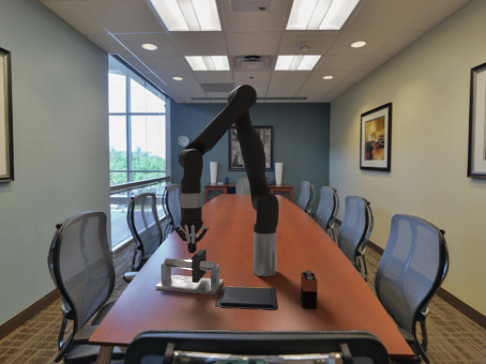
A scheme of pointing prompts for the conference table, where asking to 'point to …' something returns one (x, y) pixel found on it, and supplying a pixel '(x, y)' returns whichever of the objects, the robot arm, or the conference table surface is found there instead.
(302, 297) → the battery
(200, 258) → the dark grey wedge plate
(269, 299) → the wallet
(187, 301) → the conference table surface
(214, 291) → the pipe stand
